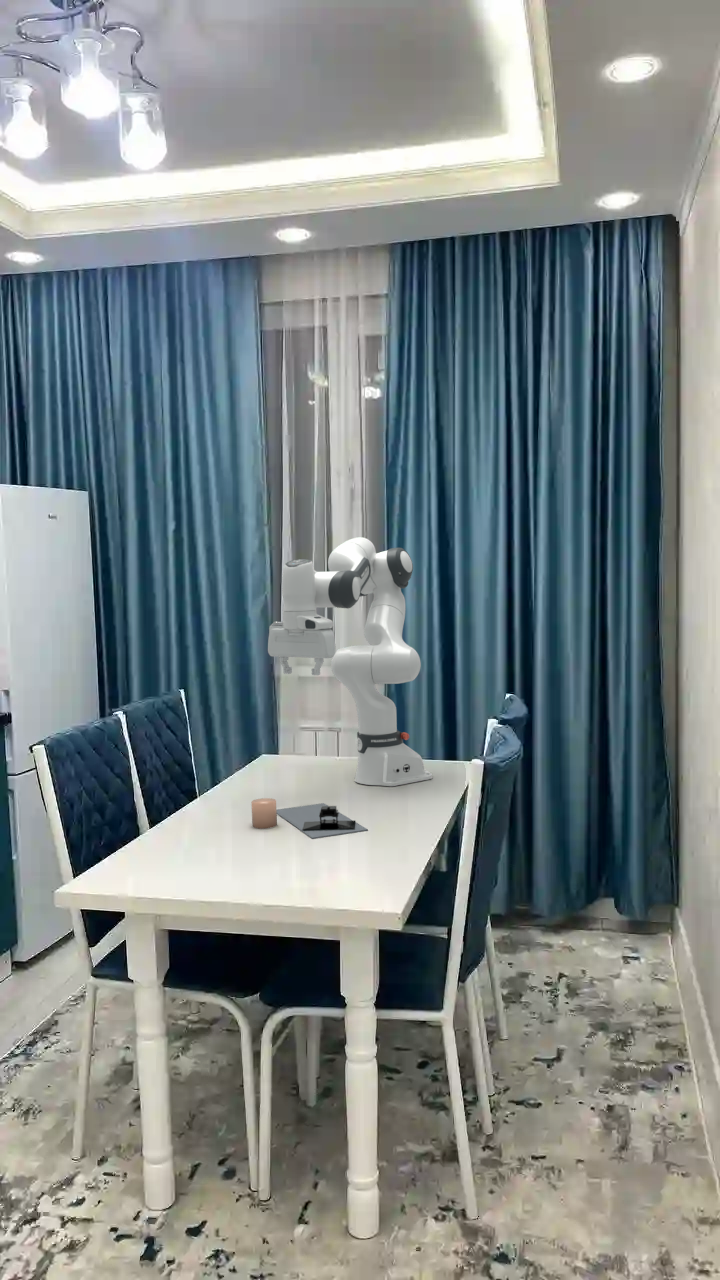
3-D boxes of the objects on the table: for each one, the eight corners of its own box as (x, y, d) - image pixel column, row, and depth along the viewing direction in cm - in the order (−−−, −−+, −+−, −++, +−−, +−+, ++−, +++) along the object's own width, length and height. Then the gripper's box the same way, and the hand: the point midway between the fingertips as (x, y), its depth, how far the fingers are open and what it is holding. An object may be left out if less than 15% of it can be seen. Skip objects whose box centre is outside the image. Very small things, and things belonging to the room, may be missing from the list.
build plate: (302, 831, 237) (301, 812, 236) (304, 823, 244) (303, 804, 244) (354, 829, 236) (353, 810, 236) (355, 821, 244) (354, 802, 243)
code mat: (323, 804, 263) (323, 802, 263) (367, 830, 236) (367, 829, 236) (272, 811, 258) (272, 809, 258) (312, 838, 231) (312, 837, 231)
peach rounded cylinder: (272, 821, 248) (271, 797, 248) (280, 826, 243) (279, 802, 242) (249, 824, 246) (248, 800, 245) (256, 830, 240) (255, 805, 240)
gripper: (261, 622, 265) (263, 674, 266) (323, 623, 254) (325, 677, 255) (277, 620, 270) (278, 671, 272) (338, 621, 259) (339, 674, 260)
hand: (301, 674), depth 263 cm, fingers open, 8 cm apart
